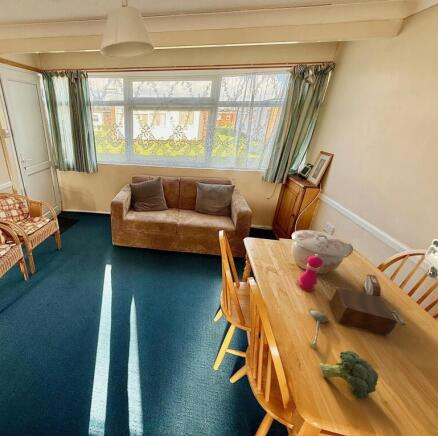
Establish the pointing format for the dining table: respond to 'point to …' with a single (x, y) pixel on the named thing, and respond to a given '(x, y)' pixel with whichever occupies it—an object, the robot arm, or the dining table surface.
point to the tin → (372, 285)
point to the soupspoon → (318, 323)
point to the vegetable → (353, 373)
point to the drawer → (395, 319)
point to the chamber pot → (319, 249)
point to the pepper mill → (310, 273)
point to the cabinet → (362, 311)
